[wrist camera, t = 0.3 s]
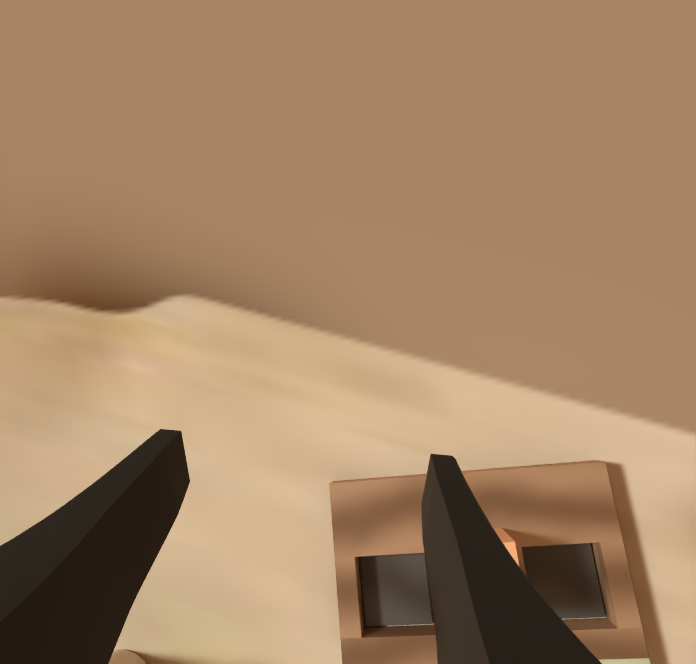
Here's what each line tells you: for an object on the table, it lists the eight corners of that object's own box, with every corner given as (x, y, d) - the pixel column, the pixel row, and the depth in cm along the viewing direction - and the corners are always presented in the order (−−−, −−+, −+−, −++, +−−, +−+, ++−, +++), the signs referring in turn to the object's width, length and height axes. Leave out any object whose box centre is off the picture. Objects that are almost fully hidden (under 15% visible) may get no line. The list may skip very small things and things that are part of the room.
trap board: (655, 737, 33) (670, 755, 31) (352, 739, 36) (349, 757, 34) (595, 460, 38) (605, 461, 36) (333, 481, 41) (329, 483, 39)
